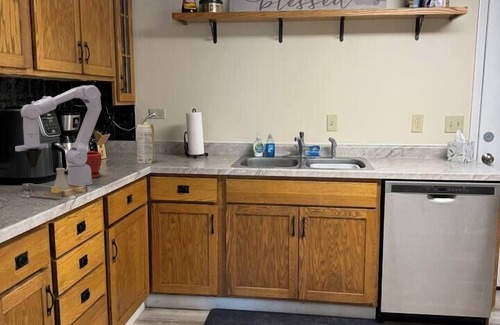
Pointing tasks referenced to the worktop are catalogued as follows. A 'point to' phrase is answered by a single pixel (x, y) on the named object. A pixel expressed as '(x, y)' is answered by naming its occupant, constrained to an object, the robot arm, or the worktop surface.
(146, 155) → the juice carton
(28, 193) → the lever post
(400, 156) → the worktop surface
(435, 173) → the worktop surface
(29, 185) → the lever
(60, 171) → the flask
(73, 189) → the bay
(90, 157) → the plant pot
